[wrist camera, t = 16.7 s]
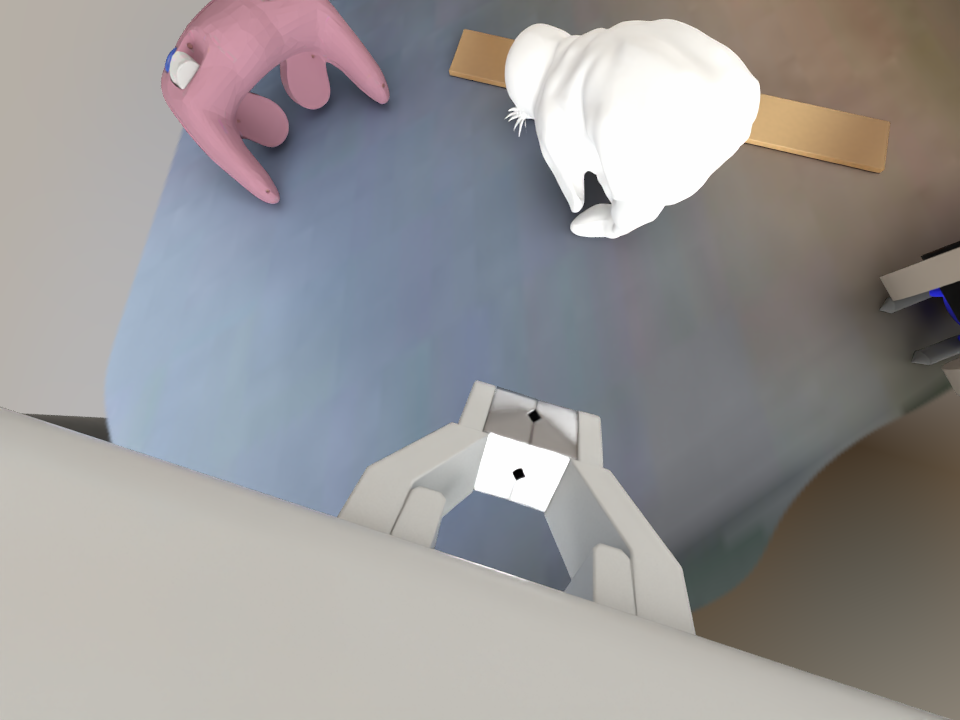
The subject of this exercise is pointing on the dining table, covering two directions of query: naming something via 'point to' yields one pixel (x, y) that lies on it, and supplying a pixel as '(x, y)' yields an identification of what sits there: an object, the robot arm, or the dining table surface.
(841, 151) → the brass ruler
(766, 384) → the dining table surface
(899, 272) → the dark block with discs
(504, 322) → the dining table surface
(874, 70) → the dining table surface
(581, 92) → the white sculpture
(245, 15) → the pink animal figurine
